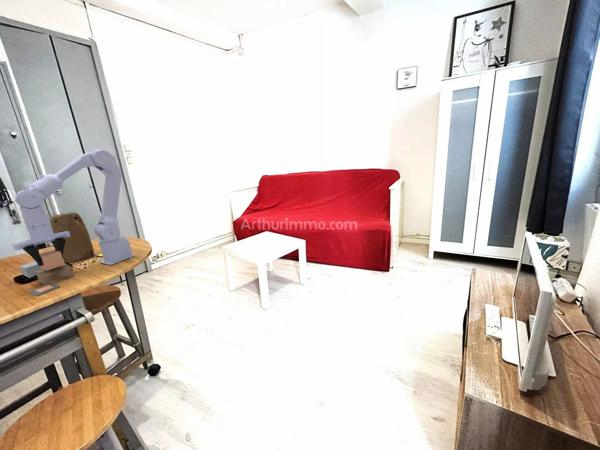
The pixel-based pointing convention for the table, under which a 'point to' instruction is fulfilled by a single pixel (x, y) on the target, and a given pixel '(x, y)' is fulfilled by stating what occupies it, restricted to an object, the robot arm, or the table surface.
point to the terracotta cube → (51, 259)
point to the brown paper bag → (73, 236)
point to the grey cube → (30, 269)
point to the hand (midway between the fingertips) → (51, 262)
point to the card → (44, 289)
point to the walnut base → (55, 274)
